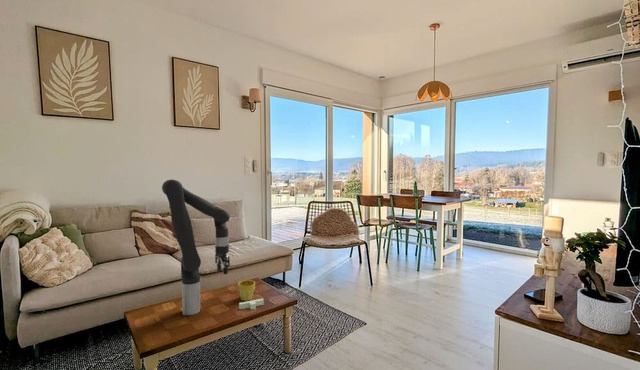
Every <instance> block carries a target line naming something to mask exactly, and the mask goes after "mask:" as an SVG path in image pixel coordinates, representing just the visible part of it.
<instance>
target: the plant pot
mask: <svg viewBox="0 0 640 370" xmlns="http://www.w3.org/2000/svg"><path fill="white" fill-rule="evenodd" d="M255 288H256V281H254V280H250V279H246V280H241V281H239V282H238V283H237V289H238V291H239V292H238V293H239V296H240V299H241V301H243V302H247V301H251V300H252V298H253V295H254V290H255Z"/></svg>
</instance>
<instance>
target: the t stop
mask: <svg viewBox="0 0 640 370" xmlns="http://www.w3.org/2000/svg"><path fill="white" fill-rule="evenodd" d="M264 305H265V301H264V298H259V299H253V300H252V299H251V300H247V301H243V302H239V303H238V309H239V310H244V309H250V310H256V309H257V307H259V306H264Z"/></svg>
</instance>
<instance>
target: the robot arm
mask: <svg viewBox="0 0 640 370" xmlns="http://www.w3.org/2000/svg"><path fill="white" fill-rule="evenodd" d="M161 190H162V192H163V194H164V195H166V198H167V200H168V203H169V206H170V207H169V208H170V217H171V218H170V219H171V220H170V221H171V226H172V229H173V233H174V236H175V239H176V241H177V243H178V245H179V247H180V250H181V255H182V257H181V259H180V273H181V274H180V275H181V282H182V283H181V289H182V290H181V292H182V293H181V306H182V308H181V309H182V311H181V312H182V316H192V315H193V316H194V315H197V314H198V313H199V312H201V275H200V267H201V262H202V260H201V258H200V255H199V252H198V250H197V246H196V242H195V241H196V240H195V236H194V230H193V226H192V221H191V218H190V217H191V216H190V214H189V210H188V209H187V205H189V206H191V207H192V208H193V209H195V210H197V211H199V212H200V213H202V214H203V215H206V216H208V217H211V218H213V221H214V223H213V224H214V227H215V228H214V229H215V241H214V244H215V245H214V247H215V251H214V252H215V255H214V257H215V258H214V259H215V260H214V261H215V262H214V263H215V264H216V271H217V272H221V271H222V266H223V275H227V274H228V273H229V272H228V270H229V269H228V268H229V267H230V265H231V263H230V259H231V258H230V256H229V255H227V254H228V253H229V252H230V245H229V243H230V240H229V227H227V222H229V220H230V218H231V217H230V214H229V212H228V211H226V210H225V209H223V208H220V207H219V206H217V205H215V204H214V203H212V202H210V201H208V200H206V199H205V198H203V197H200V196H198V195H196V194H194V193H193V192H191V191H189V190H188V189H186V188H185V187H183V184H182V183H181V182H180V181H179V180H177V179H167V180H166V181H164V182H163V183H162V185H161ZM186 204H187V205H186Z"/></svg>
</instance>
